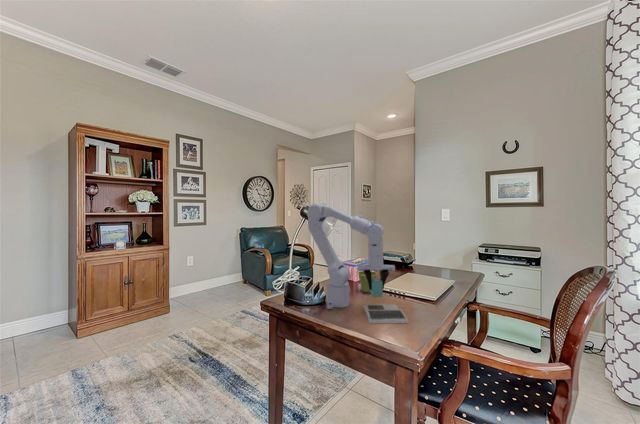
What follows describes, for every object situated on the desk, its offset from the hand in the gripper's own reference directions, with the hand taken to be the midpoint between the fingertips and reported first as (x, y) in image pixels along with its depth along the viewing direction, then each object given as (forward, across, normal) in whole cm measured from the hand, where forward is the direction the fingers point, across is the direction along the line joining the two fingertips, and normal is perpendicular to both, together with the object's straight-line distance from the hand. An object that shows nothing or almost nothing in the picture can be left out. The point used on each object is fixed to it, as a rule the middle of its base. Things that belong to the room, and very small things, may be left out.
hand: (376, 288), depth 103 cm
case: (+9, +2, -8) cm, 12 cm away
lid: (+9, +2, 0) cm, 9 cm away
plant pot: (+9, 0, +23) cm, 25 cm away
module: (+2, 0, 0) cm, 2 cm away
